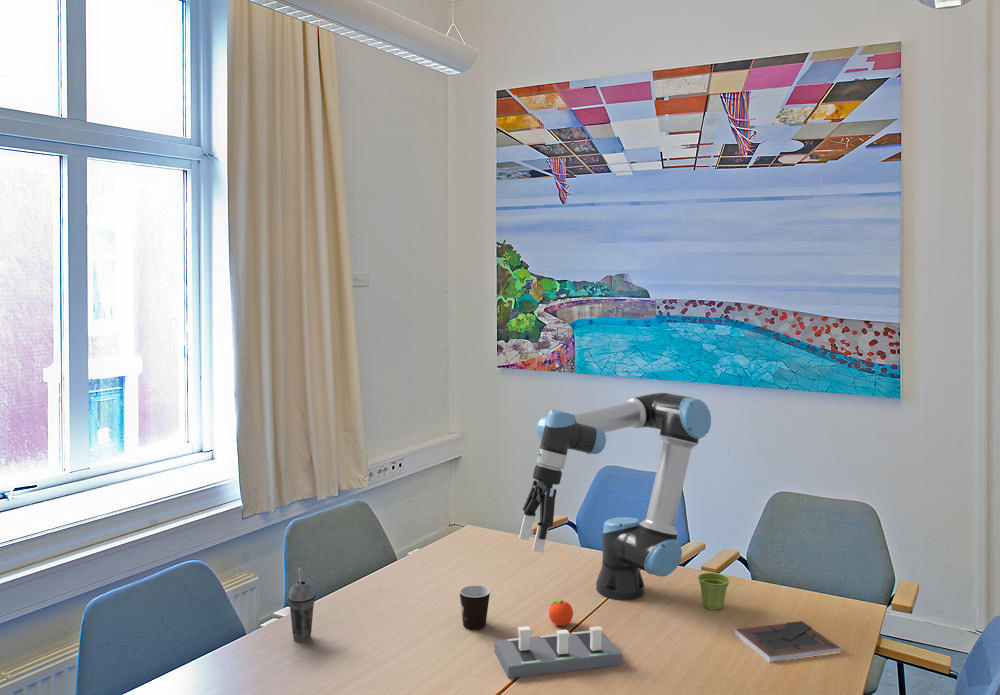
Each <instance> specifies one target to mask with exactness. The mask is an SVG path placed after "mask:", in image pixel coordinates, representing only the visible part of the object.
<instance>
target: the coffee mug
mask: <svg viewBox="0 0 1000 695" xmlns="http://www.w3.org/2000/svg"><path fill="white" fill-rule="evenodd" d="M490 594H491V589H490V588H489V587H486V586H483V585H477V584H471V585H465V586H462V587H461V588H460V589H459V599H460V609H461V618H462V619H461V620H462V626H464V627H465V628H464V627H463V628H464V629H466V630H468V629H469V631H481V630H483V629H484V627H485V628H486V626H487V619H488V618H487V617H488V609H489V604H490V603H489V601H490ZM480 629H481V630H480Z"/></svg>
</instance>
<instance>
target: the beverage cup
mask: <svg viewBox="0 0 1000 695" xmlns="http://www.w3.org/2000/svg"><path fill="white" fill-rule="evenodd" d="M297 570H298V571H297V572H298V582H296V583H294V584H293V585H292V586H291V587H290V589H289V593H288V597H287V600H288V605H289V611H290V620H291V630H292V637H293V639H292V640H293V641H295V642H297V643H305V642H307V641H310V640H311V636H312V631H313V630H312V627H313V618H314V616H313V615H314V605H315V600H316V592H315V588H314V586H312V584H311V583H309V582H307V581H302V576H301V567H298V569H297Z"/></svg>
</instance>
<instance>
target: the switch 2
mask: <svg viewBox="0 0 1000 695" xmlns="http://www.w3.org/2000/svg"><path fill="white" fill-rule="evenodd" d="M603 630H604V629H603V628H602V627H601V626H600V625H598V626H589V630H588V631H590V649H591V650H592V651H596V650H601V635H602V633H604V631H603Z"/></svg>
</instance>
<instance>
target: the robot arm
mask: <svg viewBox="0 0 1000 695" xmlns="http://www.w3.org/2000/svg"><path fill="white" fill-rule="evenodd" d="M711 425H712V416H711V412H710V409H709V407H708V405H707V404H706V403H705V402H704V401H703V400H701V399H698V398H695V397H692V396H686V395H679V394H678V395H677V394H672V393H669V392H668V393H667V392H655V393H650V394H649V393H648V394H644V395H641V396H636V397H632V398H629V399H627V400H626V402H624V403H619V404H615V405H609V406H606V407H604V406H603V407H600V408H595V409H591V410H586V411H583V412H577V413H573V414H572V413H570V412H565V411H561V410H558V409H551V410H549V411H548V413H547V415H545V416H543V417H542V418H540V419H539V421H538V423H537V425H536V433H537V436H538V438H540V439H541V440H540V446H539V450H538V451H536V455H537V459H536V463H537V464H536V465H535V466H534V470H533V473H532V478H533V479H534V480H533V482H532V486H531V488H530V491H529V493H528V496H527V498H526V500H525V503H524V505H523V508H522V510H523V513H524V516H523V519H522V524H521V527H520V533H519V536H518V538H519V539H521V540H525V541H530V536H531V533H532V529H533V528H532V527H533V524H534V520H535V517H536V516H537V513H536V511H537V510H538V508H539V522H538V523H537V529H536V533H535V537H534V540H533V546H532V549H531V550H532V551H535V552H540V553H544V551H545V550H544V549H545V544H546V540H547V536H548V532H549V528H550V527H554V517H555V516H554V515H555V504H556V495H557V489H555V488H553V486H554V485H557V486H558V485H560V483H561V479H562V476H563V472H562V470H564V468H565V465H566V460H567V455H568V451H569V450H573V451H576V452H582V453H585V454H588V455H590V454H591V455H597V454H600V453H602V452H603V451H604V449H605V447H606V442H607V437H606V433H610V432H614V431H618V430H619V431H620V430H623V429H626V428H630V427H631V428H633V429H641V428H652V429H656V430H660V431H659V437H660V439H661V440H662V447H661V452H660V455H659V459H658V465H657V468H656V472H655V477H654V481H653V482H654V483H653V486H652V492H651V494H650V500H649V505H648V508H647V513H646V516H645V519H643V520H642V521H641V519H639V518H636V517H630V516H629V517H628V516H626V517H625V516H623V517H614V518H613V517H612V518H609V519H607V520H606V521H605V522H604V523H603V531H602V563H601V564H602V565H601V568H600V571H599V573H598V576H597V580H596V583H595V584H596V585H595V587H596V588H595V590H596V591H597V592H598V594H599V595H602V596H603V597H606V598H609V599H613V600H622V601H623V600H624V601H626V600H634V599H638V598H640V597H642V596H644V594H645V582H644V579H643V576H642V572H641V570H642V571H645V572H646V573H647V574H649V575H654V576H656V577H666V576H669V575H670V574H672V573H673V572H674V571H675V570H676V569H677V568H678V566H679V564H680V562H681V560H682V555H683V549H682V546H681V544H680V543H679V541H678V539H677V538H678V531H677V529H676V527H675V524H676V519H677V515H678V510H679V507H680V501H681V496H682V493H683V488H684V485H685V484H684V483H685V479H686V475H687V470H688V465H689V462H690V461H689V460H690V458H691V457H690V456H691V452H692V449H693V448H695V447H697V446H698V444H699V440H700V439H702V438H704V437H705V436H706V435H707V434H708V433H709V431H710V429H711Z"/></svg>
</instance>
